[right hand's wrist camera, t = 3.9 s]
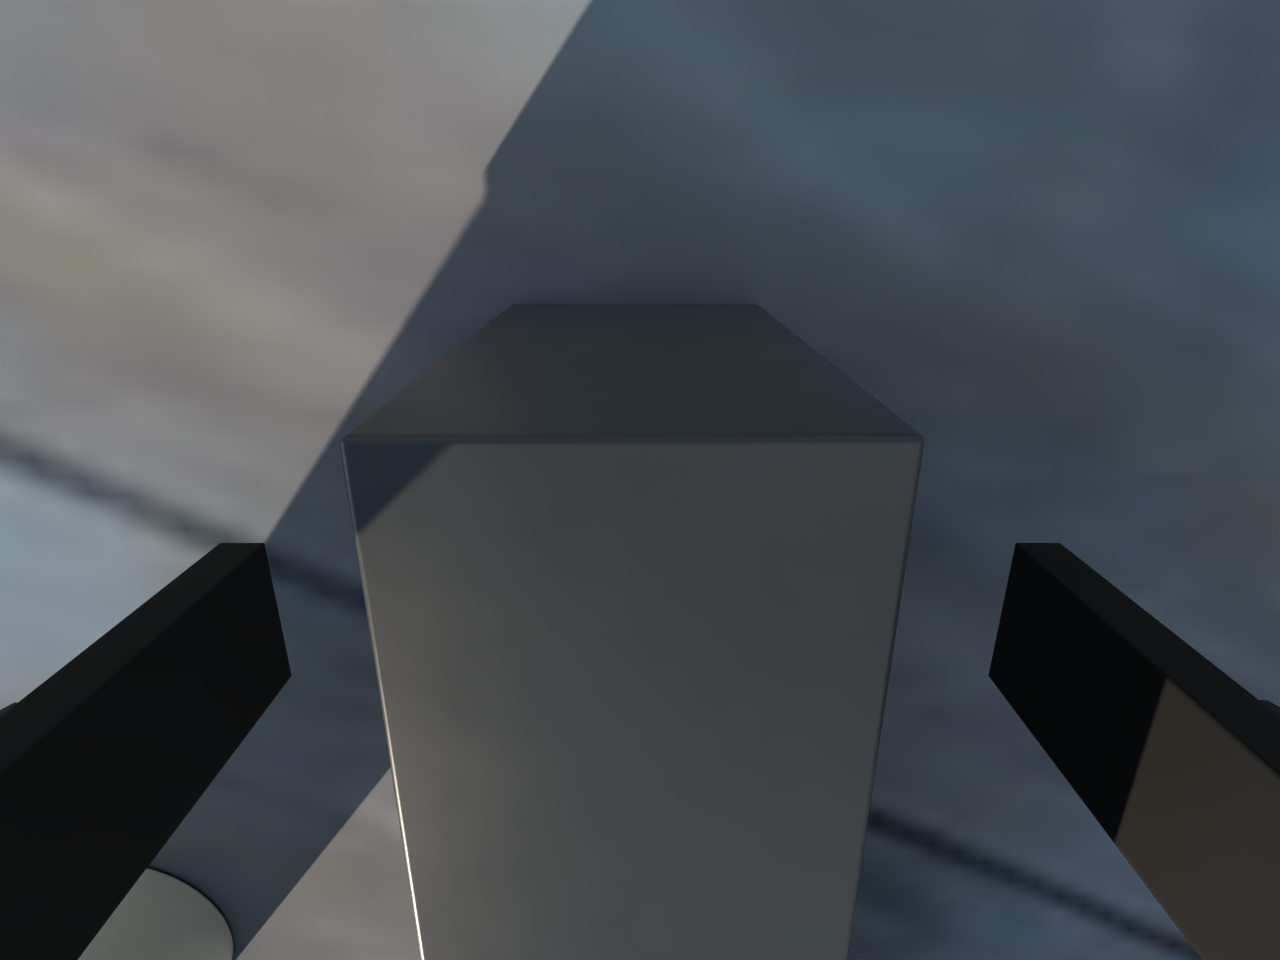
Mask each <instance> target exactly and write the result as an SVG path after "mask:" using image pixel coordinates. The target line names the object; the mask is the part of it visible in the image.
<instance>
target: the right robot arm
mask: <svg viewBox="0 0 1280 960" xmlns="http://www.w3.org/2000/svg"><path fill="white" fill-rule="evenodd" d="M290 677H291V671H290V666H289V662H288V657H287V652H286V647H285V642H284V637H283V632H282V628H281V623H280V618H279V613H278V608H277V603H276V598H275V593H274V589H273V584H272V579H271V574H270V569H269V564H268V559H267V555H266V550H265V545H264V543H220V544H219V545H217V546H216V547H215V548H214V549H212V550H211V551H210V552H208V553H207V554H206V555H205V556H203V557H202V558H201V559H200V560H198V561H197V562H196V563H195V564H193V565H192V566H191V567H189V568H188V569H187V570H186V571H184V572H183V573H182V574H181V575H179V576H178V577H177V578H176V579H174V580H173V581H172V582H170V583H169V584H168V585H167V586H165V587H164V588H163V589H162V590H160V591H159V592H158V593H157V594H155V595H154V596H153V597H151V598H150V599H149V600H148V601H146V602H145V603H144V604H143V605H141V606H140V607H139V608H138V609H136V610H135V611H134V612H132V613H131V614H130V615H129V616H127V617H126V618H125V619H124V620H122V621H121V622H120V623H118V624H117V625H116V626H115V627H113V628H112V629H111V630H110V631H108V632H107V633H106V634H105V635H103V636H102V637H101V638H99V639H98V640H97V641H96V642H94V643H93V644H92V645H91V646H89V647H88V648H87V649H86V650H84V651H83V652H82V653H80V654H79V655H78V656H77V657H75V658H74V659H73V660H72V661H70V662H69V663H68V664H67V665H65V666H64V667H63V668H61V669H60V670H59V671H58V672H56V673H55V674H54V675H53V676H51V677H50V678H49V679H48V680H46V681H45V682H44V683H42V684H41V685H40V686H39V687H37V688H36V689H35V690H34V691H32V692H31V693H30V694H29V695H27V696H26V697H25V698H23V699H22V700H21V701H20V702H18V703H13V704H11V705H9V706H7V707H5V708H3V709H1V710H0V960H78V959H79V958H80V956H81V955H82V954H83V952H84V951H85V950H86V948H87V947H88V946H89V944H90V943H91V942H92V940H93V939H94V938H95V936H96V935H97V934H98V932H99V931H100V930H101V928H102V927H103V926H104V924H105V923H106V922H107V920H108V919H109V918H110V916H111V915H112V914H113V912H114V911H115V910H116V908H117V907H118V906H119V904H120V903H121V902H122V900H123V899H124V898H125V896H126V895H127V894H128V892H129V891H130V890H131V888H132V887H133V886H134V884H135V883H136V882H137V880H138V879H139V878H140V876H141V875H142V874H143V872H144V871H145V870H146V868H147V867H148V866H149V864H150V863H151V862H152V860H153V859H154V858H155V856H156V855H157V854H158V852H159V851H160V850H161V848H162V847H163V846H164V844H165V843H166V842H167V840H168V839H169V838H170V836H171V835H172V834H173V832H174V831H175V830H176V828H177V827H178V826H179V824H180V823H181V822H182V821H183V819H184V818H185V817H186V815H187V814H188V813H189V811H190V810H191V809H192V807H193V806H194V805H195V803H196V802H197V801H198V799H199V798H200V797H201V795H202V794H203V793H204V791H205V790H206V789H207V787H208V786H209V785H210V783H211V782H212V781H213V779H214V778H215V777H216V775H217V774H218V773H219V771H220V770H221V769H222V767H223V766H224V765H225V763H226V762H227V761H228V759H229V758H230V757H231V755H232V754H233V753H234V751H235V750H236V749H237V747H238V746H239V745H240V743H241V742H242V741H243V739H244V738H245V737H246V735H247V734H248V733H249V731H250V730H251V729H252V727H253V726H254V725H255V723H256V722H257V721H258V719H259V718H260V717H261V715H262V714H263V713H264V711H265V710H266V709H267V707H268V706H269V705H270V703H271V702H272V701H273V699H274V698H275V697H276V695H277V694H278V693H279V691H280V690H281V689H282V687H283V686H284V685H285V684H286V682H287V681H288V680H289V678H290ZM989 677H990V678H991V680H992V681H993V682H994V684H995V685H996V686H997V687H998V689H999V690H1000V691H1001V693H1002V694H1003V695H1004V697H1005V698H1006V699H1007V701H1008V702H1009V703H1010V705H1011V706H1012V707H1013V709H1014V710H1015V711H1016V713H1017V714H1018V715H1019V717H1020V718H1021V719H1022V721H1023V722H1024V723H1025V725H1026V726H1027V727H1028V729H1029V730H1030V731H1031V733H1032V734H1033V735H1034V737H1035V738H1036V739H1037V741H1038V742H1039V743H1040V745H1041V746H1042V747H1043V749H1044V750H1045V751H1046V753H1047V754H1048V755H1049V757H1050V758H1051V759H1052V761H1053V762H1054V763H1055V765H1056V766H1057V767H1058V769H1059V770H1060V771H1061V773H1062V774H1063V775H1064V777H1065V778H1066V779H1067V781H1068V782H1069V783H1070V785H1071V786H1072V787H1073V789H1074V790H1075V791H1076V793H1077V794H1078V795H1079V797H1080V798H1081V799H1082V801H1083V802H1084V803H1085V805H1086V806H1087V807H1088V809H1089V810H1090V811H1091V813H1092V814H1093V815H1094V817H1095V818H1096V819H1097V821H1098V822H1099V823H1100V824H1101V826H1102V827H1103V828H1104V830H1105V831H1106V832H1107V834H1108V835H1109V836H1110V838H1111V839H1112V840H1113V842H1114V843H1115V844H1116V846H1117V847H1118V848H1119V850H1120V851H1121V852H1122V854H1123V855H1124V856H1125V858H1126V859H1127V860H1128V862H1129V863H1130V864H1131V866H1132V867H1133V868H1134V870H1135V871H1136V872H1137V874H1138V875H1139V876H1140V878H1141V879H1142V880H1143V882H1144V883H1145V884H1146V886H1147V887H1148V888H1149V890H1150V891H1151V892H1152V894H1153V895H1154V896H1155V898H1156V899H1157V900H1158V902H1159V903H1160V904H1161V906H1162V907H1163V908H1164V910H1165V911H1166V912H1167V914H1168V915H1169V916H1170V918H1171V919H1172V920H1173V922H1174V923H1175V924H1176V926H1177V927H1178V928H1179V930H1180V931H1181V932H1182V934H1183V935H1184V936H1185V938H1186V939H1187V940H1188V942H1189V943H1190V944H1191V946H1192V947H1193V948H1194V950H1195V951H1196V952H1197V954H1198V955H1199V956H1200V958H1201V959H1202V960H1280V707H1279V706H1277V705H1275V704H1273V703H1271V702H1269V701H1267V700H1258V699H1257V698H1255V697H1254V696H1253V695H1251V694H1250V693H1249V692H1248V691H1246V690H1245V689H1244V688H1243V687H1241V686H1240V685H1239V684H1238V683H1236V682H1235V681H1234V680H1232V679H1231V678H1230V677H1229V676H1227V675H1226V674H1225V673H1224V672H1222V671H1221V670H1220V669H1219V668H1217V667H1216V666H1215V665H1213V664H1212V663H1211V662H1210V661H1208V660H1207V659H1206V658H1205V657H1203V656H1202V655H1201V654H1200V653H1198V652H1197V651H1196V650H1194V649H1193V648H1192V647H1191V646H1189V645H1188V644H1187V643H1186V642H1184V641H1183V640H1182V639H1181V638H1179V637H1178V636H1177V635H1175V634H1174V633H1173V632H1172V631H1170V630H1169V629H1168V628H1167V627H1165V626H1164V625H1163V624H1161V623H1160V622H1159V621H1158V620H1156V619H1155V618H1154V617H1153V616H1151V615H1150V614H1149V613H1148V612H1146V611H1145V610H1144V609H1142V608H1141V607H1140V606H1139V605H1137V604H1136V603H1135V602H1134V601H1132V600H1131V599H1130V598H1129V597H1127V596H1126V595H1125V594H1123V593H1122V592H1121V591H1120V590H1118V589H1117V588H1116V587H1115V586H1113V585H1112V584H1111V583H1110V582H1108V581H1107V580H1106V579H1104V578H1103V577H1102V576H1101V575H1099V574H1098V573H1097V572H1096V571H1094V570H1093V569H1092V568H1091V567H1089V566H1088V565H1087V564H1085V563H1084V562H1083V561H1082V560H1080V559H1079V558H1078V557H1077V556H1075V555H1074V554H1073V553H1072V552H1070V551H1069V550H1068V549H1066V548H1065V547H1064V546H1063V545H1061V544H1060V543H1016V545H1015V550H1014V554H1013V559H1012V564H1011V569H1010V574H1009V579H1008V584H1007V589H1006V593H1005V598H1004V603H1003V608H1002V613H1001V618H1000V623H999V628H998V632H997V637H996V642H995V647H994V652H993V657H992V662H991V666H990V671H989Z"/></svg>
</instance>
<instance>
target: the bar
mask: <svg viewBox="0 0 1280 960" xmlns="http://www.w3.org/2000/svg"><path fill="white" fill-rule="evenodd" d="M923 445H924V441H923V437H922V435H921V434H919V433H918V432H917V431H916V430H914V429H913V428H912V427H910V426H909V425H908V424H907V423H905V422H904V421H903V420H902V419H900V418H899V417H898V416H897V415H895V414H894V413H893V412H892V411H890V410H889V409H888V408H887V407H885V406H884V405H883V404H882V403H880V402H879V401H878V400H877V399H875V398H874V397H873V396H872V395H870V394H869V393H868V392H867V391H865V390H864V389H863V388H861V387H860V386H859V385H858V384H856V383H855V382H854V381H853V380H851V379H850V378H849V377H848V376H846V375H845V374H844V373H843V372H841V371H840V370H839V369H838V368H836V367H835V366H834V365H833V364H831V363H830V362H829V361H828V360H826V359H825V358H824V357H823V356H821V355H820V354H819V353H818V352H816V351H815V350H814V349H813V348H811V347H810V346H809V345H807V344H806V343H805V342H804V341H802V340H801V339H800V338H799V337H797V336H796V335H795V334H794V333H792V332H791V331H790V330H789V329H787V328H786V327H785V326H784V325H782V324H781V323H780V322H779V321H777V320H776V319H775V318H774V317H772V316H771V315H770V314H769V313H767V312H766V311H765V310H764V309H762V308H761V307H760V306H758V305H512V306H510V307H509V308H508V309H506V310H505V311H504V312H502V313H501V314H500V315H499V316H497V317H496V318H495V319H493V320H492V321H491V322H489V323H488V324H487V325H486V326H484V327H483V328H482V329H480V330H479V331H478V332H476V333H475V334H474V335H473V336H471V337H470V338H469V339H467V340H466V341H465V342H464V343H462V344H461V345H460V346H458V347H457V348H456V349H454V350H453V351H452V352H451V353H449V354H448V355H447V356H445V357H444V358H443V359H441V360H440V361H439V362H438V363H436V364H435V365H434V366H432V367H431V368H430V369H428V370H427V371H426V372H425V373H423V374H422V375H421V376H419V377H418V378H417V379H416V380H414V381H413V382H412V383H410V384H409V385H408V386H406V387H405V388H404V389H403V390H401V391H400V392H399V393H397V394H396V395H395V396H393V397H392V398H391V399H390V400H388V401H387V402H386V403H384V404H383V405H382V406H380V407H379V408H378V409H377V410H375V411H374V412H373V413H371V414H370V415H369V416H368V417H366V418H365V419H364V420H362V421H361V422H360V423H358V424H357V425H356V426H355V427H353V428H352V429H351V430H349V431H348V432H347V433H345V434H344V435H343V436H342V437H341V441H340V448H341V454H342V461H343V467H344V473H345V480H346V486H347V492H348V499H349V505H350V511H351V518H352V524H353V530H354V537H355V543H356V549H357V556H358V562H359V568H360V575H361V581H362V588H363V594H364V600H365V607H366V613H367V619H368V626H369V632H370V638H371V645H372V651H373V657H374V664H375V670H376V676H377V683H378V689H379V695H380V702H381V708H382V715H383V721H384V727H385V734H386V740H387V746H388V753H389V759H390V765H391V772H392V778H393V784H394V791H395V797H396V803H397V810H398V816H399V823H400V829H401V835H402V842H403V848H404V854H405V861H406V867H407V873H408V880H409V886H410V892H411V899H412V905H413V911H414V918H415V924H416V930H417V937H418V943H419V950H420V956H421V960H847V956H848V949H849V942H850V936H851V929H852V922H853V916H854V909H855V902H856V895H857V889H858V882H859V875H860V869H861V862H862V855H863V848H864V842H865V835H866V828H867V822H868V815H869V808H870V801H871V795H872V788H873V781H874V774H875V768H876V761H877V754H878V748H879V741H880V734H881V727H882V721H883V714H884V707H885V701H886V694H887V687H888V680H889V674H890V667H891V660H892V654H893V647H894V640H895V633H896V627H897V620H898V613H899V606H900V600H901V593H902V586H903V580H904V573H905V566H906V559H907V553H908V546H909V539H910V533H911V526H912V519H913V512H914V506H915V499H916V492H917V486H918V479H919V472H920V465H921V459H922V452H923Z"/></svg>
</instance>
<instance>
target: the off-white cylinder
mask: <svg viewBox="0 0 1280 960" xmlns="http://www.w3.org/2000/svg"><path fill="white" fill-rule="evenodd" d="M232 956H233V939H232V934H231V932H230V929H229V926H228V924H227V922H226V921H225V919H224V917H223V916H222V914H221V913H220V912H219V911H218V909H217V908H216V907H215V906H214V905H213V904H212V903H211V902H210V901H209V900H208V899H207V898H206V897H205V896H203V895H202V894H201V893H200V892H198V891H197V890H195V889H194V888H192V887H191V886H189V885H188V884H186V883H184V882H182V881H180V880H178V879H176V878H174V877H171V876H169V875H167V874H164V873H161V872H158V871H155V870H152V869H148V868H146V870H145V871H144V872H143V874H142V875H141V876H140V878H139V879H138V880H137V882H136V883H135V884H134V886H133V887H132V888H131V890H130V891H129V892H128V894H127V895H126V896H125V898H124V899H123V900H122V902H121V903H120V904H119V906H118V907H117V908H116V910H115V911H114V912H113V914H112V915H111V916H110V918H109V919H108V920H107V922H106V923H105V924H104V926H103V927H102V928H101V930H100V931H99V932H98V934H97V935H96V936H95V938H94V939H93V940H92V942H91V943H90V944H89V946H88V947H87V948H86V950H85V951H84V952H83V954H82V955H81V956H80V958H79V959H78V960H232Z"/></svg>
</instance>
